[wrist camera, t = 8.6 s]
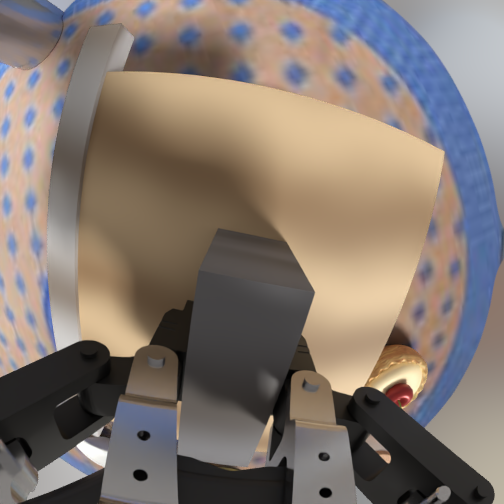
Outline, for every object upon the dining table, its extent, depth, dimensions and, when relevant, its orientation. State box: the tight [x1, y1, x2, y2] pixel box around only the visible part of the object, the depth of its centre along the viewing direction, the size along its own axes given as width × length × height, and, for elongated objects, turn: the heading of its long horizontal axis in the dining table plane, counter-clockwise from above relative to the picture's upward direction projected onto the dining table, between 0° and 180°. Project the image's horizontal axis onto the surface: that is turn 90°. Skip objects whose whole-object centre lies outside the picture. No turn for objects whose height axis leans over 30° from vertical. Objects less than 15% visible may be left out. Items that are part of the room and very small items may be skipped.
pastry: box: [364, 345, 428, 409], centre depth 32 cm, size 12×12×9 cm
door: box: [47, 23, 445, 467], centre depth 11 cm, size 25×18×6 cm
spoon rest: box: [58, 399, 110, 467], centre depth 36 cm, size 24×12×7 cm, turn 10°
